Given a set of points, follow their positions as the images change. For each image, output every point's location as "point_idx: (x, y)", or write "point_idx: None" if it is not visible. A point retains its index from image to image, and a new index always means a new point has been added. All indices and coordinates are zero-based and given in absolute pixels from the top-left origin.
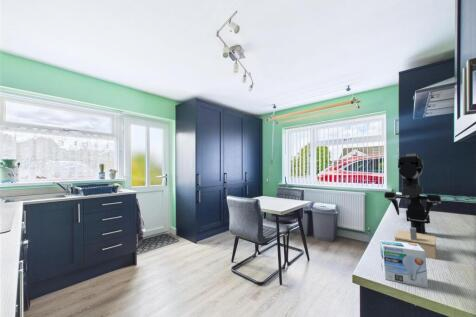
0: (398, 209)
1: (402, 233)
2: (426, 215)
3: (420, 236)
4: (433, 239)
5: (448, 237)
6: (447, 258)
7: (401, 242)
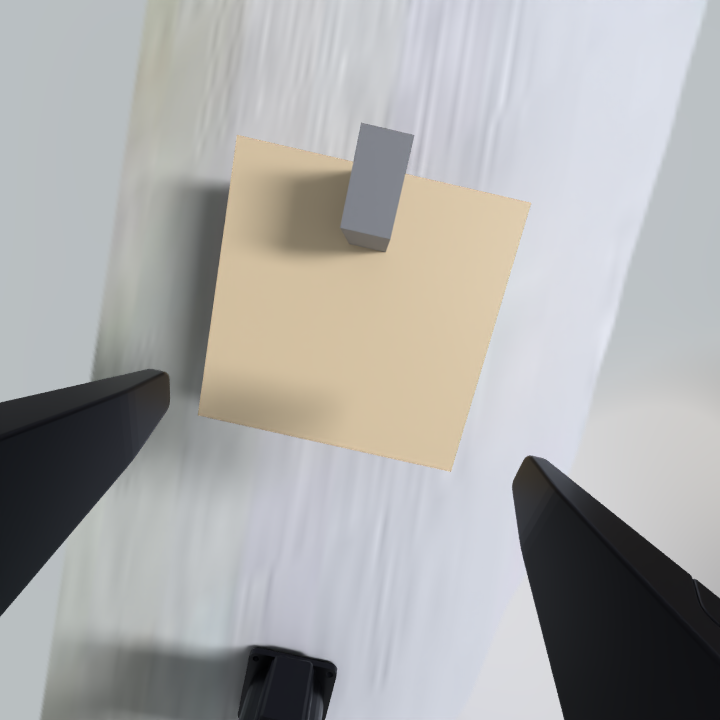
0: (564, 574)
1: (438, 365)
2: (116, 386)
3: (310, 335)
4: (228, 286)
5: (145, 671)
6: (214, 240)
7: None
